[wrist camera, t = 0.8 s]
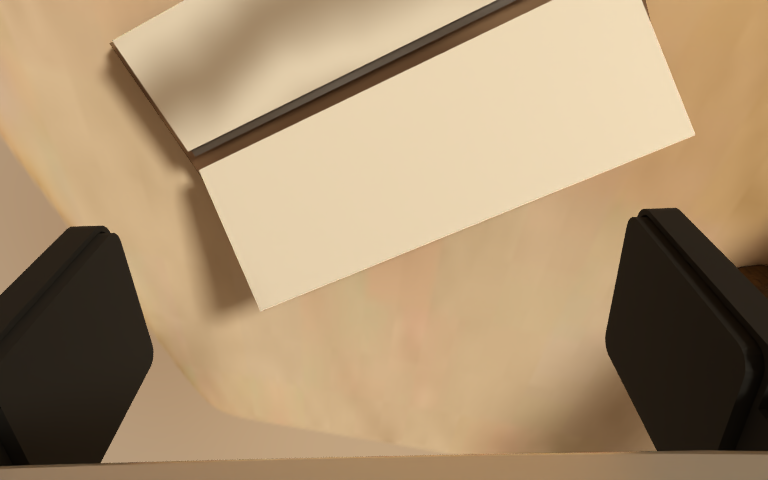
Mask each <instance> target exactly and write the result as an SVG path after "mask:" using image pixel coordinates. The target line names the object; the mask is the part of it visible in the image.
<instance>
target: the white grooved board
mask: <svg viewBox="0 0 768 480" xmlns="http://www.w3.org/2000/svg"><path fill="white" fill-rule="evenodd" d="M550 1H552V0H184V1H182V2H180V3H178V4H177V5H175V6H173V7H171V8H170V9H168V10H166V11H164V12H162V13H161V14H159V15H157V16H155V17H154V18H152V19H150V20H148V21H146V22H145V23H143V24H141V25H139V26H137V27H136V28H134V29H132V30H130V31H129V32H127V33H125V34H123V35H121V36H120V37H118V38H116V39H114V40H112V41H113V42H111V43H110V45H111V46H112V48H113V49H114V51H115V52H116V54H117V55H118V57H119V58H120V59H121V61H122V62H123V64H124V65H125V67H126V68H127V70H128V71H129V73H130V74H131V75H132V77H133V78H134V80H135V81H136V83H137V84H138V86H139V87H140V88H141V90H142V91H143V93H144V94H145V96H146V97H147V99H148V100H149V102H150V103H151V104H152V106H153V107H154V109H155V110H156V112H157V113H158V115H159V116H160V118H161V119H162V120H163V122H164V123H165V125H166V126H167V128H168V129H169V131H170V132H171V134H172V135H173V136H174V138H175V139H176V141H177V142H178V144H179V145H180V147H181V148H182V149H183V151H184V152H185V154H186V155H187V157H188V158H189V160H190V161H191V163H192V164H193V165H194V167H195V168H196V170H197V171H198V173H199V174H200V172H199V170H200V169H202V168H204V167H206V166H209V165H211V164H213V163H215V162H217V161H219V160H221V159H223V158H225V157H227V156H229V155H231V154H233V153H236V152H238V151H240V150H242V149H244V148H246V147H248V146H250V145H252V144H254V143H256V142H258V141H261V140H263V139H265V138H267V137H269V136H271V135H273V134H275V133H277V132H279V131H281V130H283V129H285V128H288V127H290V126H292V125H294V124H296V123H298V122H300V121H302V120H304V119H306V118H308V117H310V116H313V115H315V114H317V113H319V112H321V111H323V110H325V109H327V108H329V107H331V106H333V105H335V104H338V103H340V102H342V101H344V100H346V99H348V98H350V97H352V96H354V95H356V94H358V93H360V92H362V91H365V90H367V89H369V88H371V87H373V86H375V85H377V84H379V83H381V82H383V81H385V80H387V79H390V78H392V77H394V76H396V75H398V74H400V73H402V72H404V71H406V70H408V69H410V68H412V67H414V66H417V65H419V64H421V63H423V62H425V61H427V60H429V59H431V58H433V57H435V56H437V55H439V54H442V53H444V52H446V51H448V50H450V49H452V48H454V47H456V46H458V45H460V44H462V43H464V42H466V41H469V40H471V39H473V38H475V37H477V36H479V35H481V34H483V33H485V32H487V31H489V30H491V29H494V28H496V27H498V26H500V25H502V24H504V23H506V22H508V21H510V20H512V19H514V18H516V17H518V16H521V15H523V14H525V13H527V12H529V11H531V10H533V9H535V8H537V7H539V6H541V5H543V4H546V3H548V2H550ZM642 2H643V5H644V7H645V10H646V12H647V15H648V17H649V13H648V9H647V5H646V0H642ZM649 20H650V17H649ZM200 176H201V174H200ZM201 177H202V176H201Z"/></svg>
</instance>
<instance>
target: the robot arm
mask: <svg viewBox="0 0 768 480" xmlns="http://www.w3.org/2000/svg"><path fill="white" fill-rule="evenodd" d="M605 342H606V349H607V352H608V355H609V357H610V359H611V361H612V363H613V365H614V367H615V369H616V371H617V373H618V375H619V376H620V378H621V380H622V382H623V384H624V386H625V388H626V390H627V392H628V394H629V396H630V398H631V400H632V402H633V404H634V406H635V408H636V410H637V412H638V414H639V416H640V418H641V420H642V422H643V424H644V426H645V428H646V430H647V432H648V434H649V436H650V438H651V440H652V442H653V444H654V446H655V448H656V450H657V451H639V452H580V453H522V454H464V455H415V456H371V457H369V456H368V457H325V458H324V457H323V458H281V459H242V460H241V459H239V460H202V461H165V462H130V463H101V461H102V459H103V457H104V455H105V453H106V451H107V449H108V447H109V446H110V444H111V442H112V440H113V438H114V436H115V434H116V432H117V430H118V428H119V426H120V424H121V422H122V421H123V419H124V417H125V415H126V413H127V410H128V409H129V407H130V405H131V403H132V401H133V399H134V397H135V396H136V394H137V392H138V390H139V388H140V386H141V384H142V382H143V380H144V378H145V376H146V374H147V373H148V370H149V369H150V367H151V364H152V361H153V346H152V343H151V339H150V336H149V332H148V329H147V326H146V323H145V319H144V316H143V313H142V309H141V306H140V303H139V300H138V296H137V293H136V290H135V286H134V283H133V280H132V277H131V273H130V270H129V267H128V263H127V260H126V257H125V253H124V250H123V247H122V244H121V241H120V238H119V237H118V235H117V234H115V233H110V231H109V230H108V229H107V228H106V227H105V226H79V227H70V228H68V229H67V230H66V231H65V232H64V233H63V234H62V235H61V236H60V237H59V238H58V239H57V240H56V241H55V242H54V243H53V244H52V245H51V246H50V247H48V248H47V249H46V251H44V253H42V255H41V256H40V257H38V258H37V259H36V260H35V261H34V262H33V263H32V264H31V265H30V267H28V268H27V269H26V270H25V271H24V272H23V273H22V274H21V275H20V276H19V277H18V278H17V279H16V280H15V281H14V282H13V283H12V284H11V285H10V286H9V287H8V288H7V289H6V290H5V291H4V292H3V293H2V294H1V295H0V480H768V299H767V298H766V297H765V296H764V295H763V294H762V293H761V292H760V291H759V290H758V289H757V288H756V287H755V286H754V285H753V284H752V283H751V282H750V281H749V280H748V279H747V278H746V277H745V276H744V275H743V274H742V273H741V272H740V271H739V269H738V268H737V267H736V266H735V265H734V264H733V263H732V262H731V261H730V260H729V259H728V258H727V257H726V256H725V255H724V254H723V253H722V252H721V251H720V250H719V249H718V248H717V247H716V246H715V245H714V244H713V243H712V242H711V241H710V240H709V239H708V238H707V237H706V236H705V235H704V234H703V233H702V232H701V231H700V230H699V229H698V228H697V227H696V226H695V225H694V224H693V223H692V222H691V221H690V220H689V219H688V218H687V217H686V216H685V215H684V214H683V213H682V212H681V211H680V210H679V209H677V208H662V209H643V210H641V211H640V212H639V214H638V216H637V217H632V218H630V220H629V221H628V224H627V228H626V233H625V238H624V243H623V248H622V253H621V259H620V264H619V269H618V274H617V279H616V284H615V289H614V294H613V299H612V304H611V309H610V314H609V319H608V325H607V330H606V336H605Z"/></svg>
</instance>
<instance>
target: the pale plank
mask: <svg viewBox="0 0 768 480" xmlns="http://www.w3.org/2000/svg"><path fill="white" fill-rule="evenodd" d="M694 135H695V132H694V130H693V127H692V125H691V122H690V120H689V117H688V115H687V112H686V110H685V107H684V105H683V102H682V100H681V97H680V95H679V92H678V90H677V87H676V85H675V82H674V80H673V77H672V75H671V72H670V70H669V67H668V65H667V62H666V60H665V57H664V55H663V52H662V50H661V47H660V45H659V42H658V40H657V37H656V35H655V32H654V30H653V27H652V25H651V22H650V20H649V17H648V15H647V12H646V10H645V7H644V5H643V2H642V0H552V1H550V2H548V3H546V4H543V5H541V6H539V7H537V8H535V9H533V10H531V11H529V12H527V13H525V14H523V15H521V16H518V17H516V18H514V19H512V20H510V21H508V22H506V23H504V24H502V25H500V26H498V27H496V28H494V29H491V30H489V31H487V32H485V33H483V34H481V35H479V36H477V37H475V38H473V39H471V40H469V41H466V42H464V43H462V44H460V45H458V46H456V47H454V48H452V49H450V50H448V51H446V52H444V53H442V54H439V55H437V56H435V57H433V58H431V59H429V60H427V61H425V62H423V63H421V64H419V65H417V66H414V67H412V68H410V69H408V70H406V71H404V72H402V73H400V74H398V75H396V76H394V77H392V78H390V79H387V80H385V81H383V82H381V83H379V84H377V85H375V86H373V87H371V88H369V89H367V90H365V91H362V92H360V93H358V94H356V95H354V96H352V97H350V98H348V99H346V100H344V101H342V102H340V103H338V104H335V105H333V106H331V107H329V108H327V109H325V110H323V111H321V112H319V113H317V114H315V115H313V116H310V117H308V118H306V119H304V120H302V121H300V122H298V123H296V124H294V125H292V126H290V127H288V128H285V129H283V130H281V131H279V132H277V133H275V134H273V135H271V136H269V137H267V138H265V139H263V140H261V141H258V142H256V143H254V144H252V145H250V146H248V147H246V148H244V149H242V150H240V151H238V152H236V153H233V154H231V155H229V156H227V157H225V158H223V159H221V160H219V161H217V162H215V163H213V164H211V165H209V166H206V167H204V168H202V169H200V170H199V172H200V174H201V176H202V179H203V181H204V183H205V185H206V188H207V190H208V192H209V195H210V197H211V199H212V202H213V204H214V206H215V208H216V211H217V213H218V215H219V218H220V220H221V222H222V224H223V227H224V229H225V231H226V234H227V236H228V238H229V241H230V243H231V245H232V247H233V250H234V252H235V254H236V257H237V259H238V261H239V263H240V266H241V268H242V270H243V273H244V275H245V277H246V280H247V282H248V284H249V286H250V289H251V291H252V293H253V296H254V298H255V300H256V303H257V305H258V307H259V309H260V312H261V311H263V310H266V309H268V308H271V307H273V306H276V305H278V304H280V303H283V302H285V301H288V300H290V299H293V298H295V297H298V296H300V295H303V294H305V293H308V292H310V291H313V290H315V289H317V288H320V287H322V286H325V285H327V284H330V283H332V282H335V281H337V280H340V279H342V278H345V277H347V276H349V275H352V274H354V273H357V272H359V271H362V270H364V269H367V268H369V267H372V266H374V265H377V264H379V263H381V262H384V261H386V260H389V259H391V258H394V257H396V256H399V255H401V254H404V253H406V252H409V251H411V250H413V249H416V248H418V247H421V246H423V245H426V244H428V243H431V242H433V241H436V240H438V239H441V238H443V237H446V236H448V235H450V234H453V233H455V232H458V231H460V230H463V229H465V228H468V227H470V226H473V225H475V224H478V223H480V222H482V221H485V220H487V219H490V218H492V217H495V216H497V215H500V214H502V213H505V212H507V211H510V210H512V209H514V208H517V207H519V206H522V205H524V204H527V203H529V202H532V201H534V200H537V199H539V198H542V197H544V196H546V195H549V194H551V193H554V192H556V191H559V190H561V189H564V188H566V187H569V186H571V185H574V184H576V183H578V182H581V181H583V180H586V179H588V178H591V177H593V176H596V175H598V174H601V173H603V172H606V171H608V170H611V169H613V168H615V167H618V166H620V165H623V164H625V163H628V162H630V161H633V160H635V159H638V158H640V157H643V156H645V155H647V154H650V153H652V152H655V151H657V150H660V149H662V148H665V147H667V146H670V145H672V144H675V143H677V142H679V141H682V140H684V139H687V138H689V137H692V136H694Z"/></svg>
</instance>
